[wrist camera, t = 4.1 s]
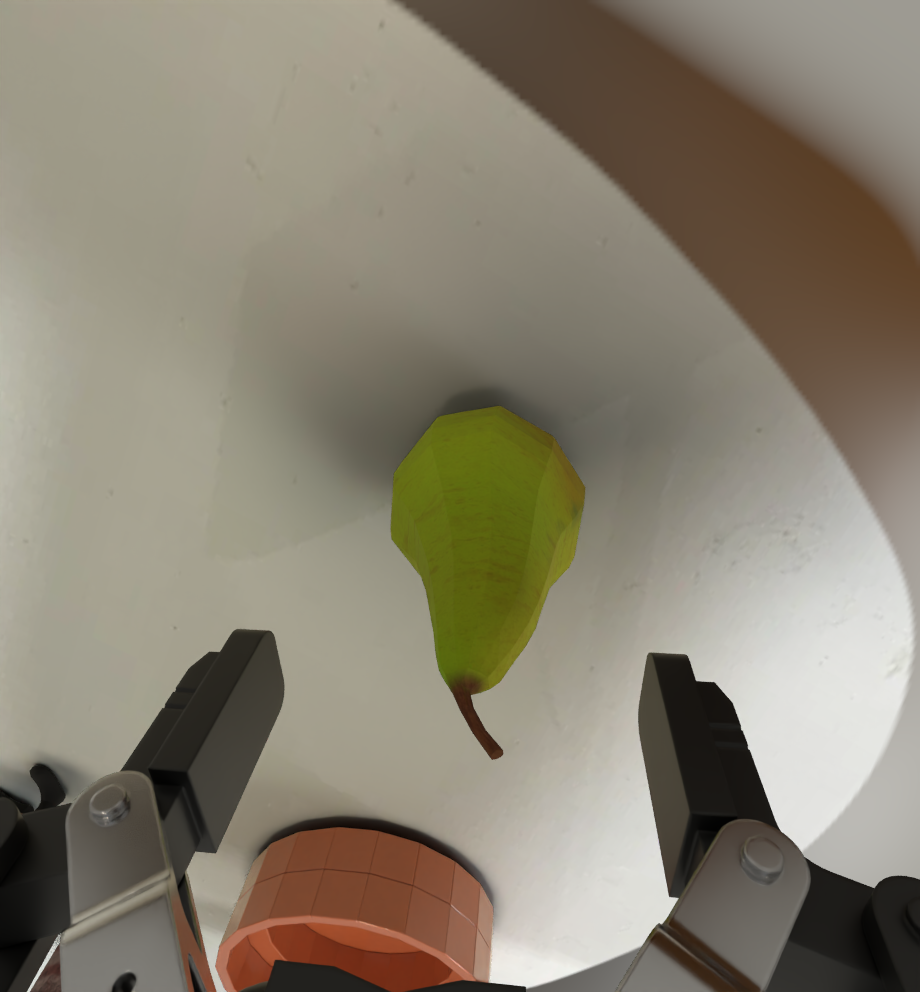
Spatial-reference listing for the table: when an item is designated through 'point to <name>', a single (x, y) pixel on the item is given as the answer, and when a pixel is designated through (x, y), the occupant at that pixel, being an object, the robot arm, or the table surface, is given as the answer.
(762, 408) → the table surface
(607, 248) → the table surface
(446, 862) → the bowl
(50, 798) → the action figure
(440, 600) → the fruit
